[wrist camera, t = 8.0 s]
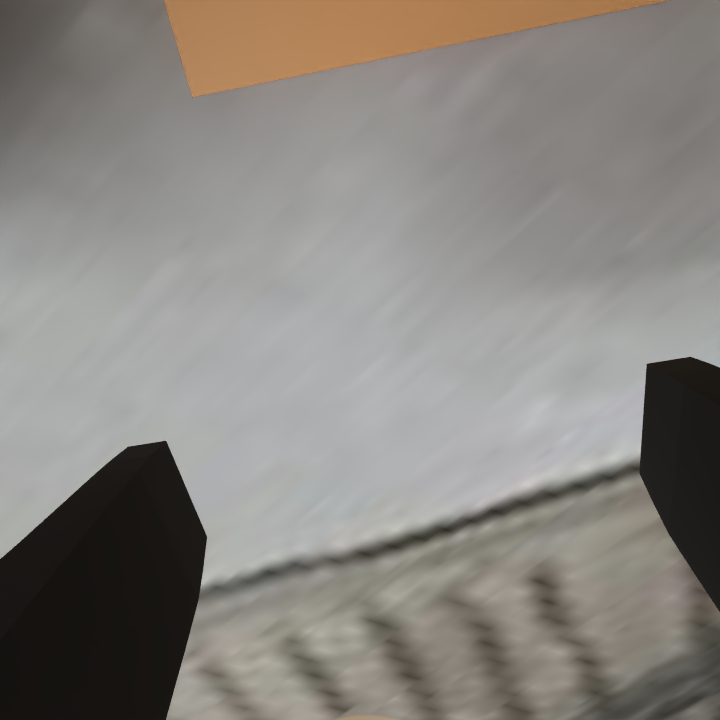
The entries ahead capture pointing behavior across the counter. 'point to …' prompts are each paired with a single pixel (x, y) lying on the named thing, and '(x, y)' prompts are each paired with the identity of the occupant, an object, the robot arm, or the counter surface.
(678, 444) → the robot arm
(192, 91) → the orange stepped square base
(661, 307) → the counter surface
